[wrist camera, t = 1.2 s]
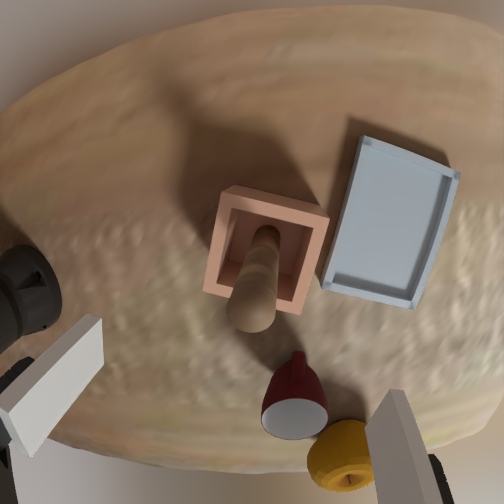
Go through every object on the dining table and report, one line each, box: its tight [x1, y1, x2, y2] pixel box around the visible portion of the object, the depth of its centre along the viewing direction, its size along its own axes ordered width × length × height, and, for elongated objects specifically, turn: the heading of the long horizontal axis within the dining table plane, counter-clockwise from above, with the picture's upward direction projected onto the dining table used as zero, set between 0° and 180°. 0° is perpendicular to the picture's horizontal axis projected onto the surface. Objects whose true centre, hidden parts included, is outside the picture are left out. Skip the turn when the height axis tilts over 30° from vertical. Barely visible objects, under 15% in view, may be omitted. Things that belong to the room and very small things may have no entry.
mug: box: [261, 351, 328, 440], centre depth 37 cm, size 10×8×10 cm
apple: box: [307, 419, 374, 492], centre depth 40 cm, size 13×13×11 cm
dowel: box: [226, 225, 280, 333], centre depth 27 cm, size 3×3×18 cm
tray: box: [319, 135, 460, 310], centre depth 34 cm, size 18×13×2 cm
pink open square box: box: [203, 185, 330, 315], centre depth 33 cm, size 10×10×8 cm
